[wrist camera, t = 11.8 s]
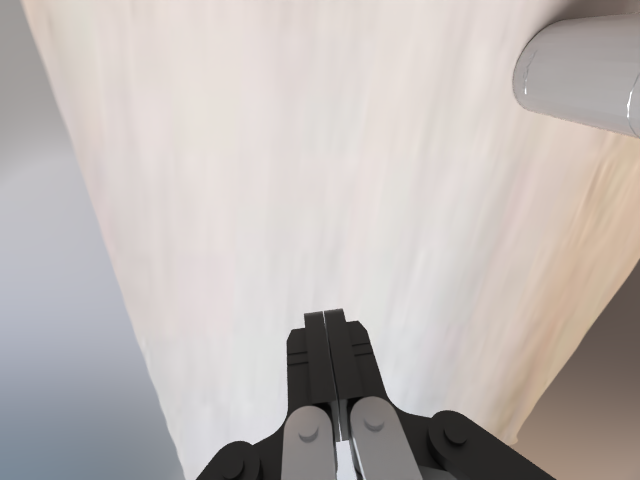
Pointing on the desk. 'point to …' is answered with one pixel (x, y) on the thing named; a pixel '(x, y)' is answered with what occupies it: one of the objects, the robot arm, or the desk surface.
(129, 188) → the desk surface
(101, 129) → the desk surface
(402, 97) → the desk surface
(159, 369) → the desk surface
